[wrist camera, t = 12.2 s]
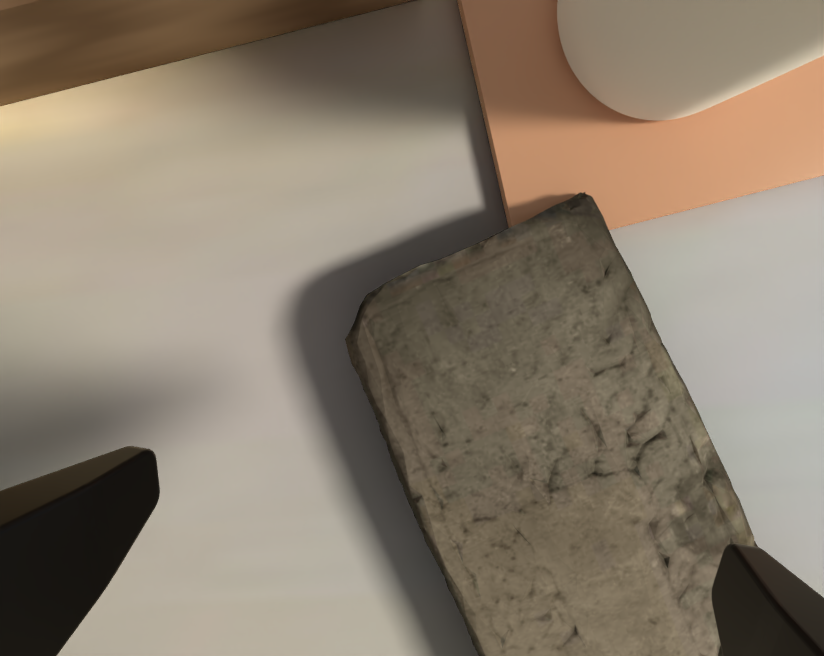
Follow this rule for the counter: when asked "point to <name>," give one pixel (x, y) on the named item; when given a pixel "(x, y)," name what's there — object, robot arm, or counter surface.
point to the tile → (626, 128)
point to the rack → (138, 35)
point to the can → (684, 49)
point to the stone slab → (550, 444)
